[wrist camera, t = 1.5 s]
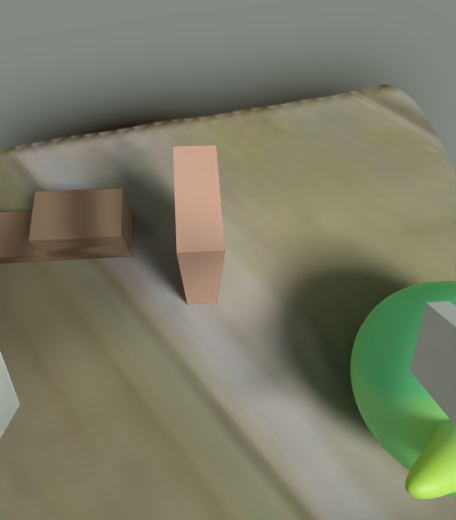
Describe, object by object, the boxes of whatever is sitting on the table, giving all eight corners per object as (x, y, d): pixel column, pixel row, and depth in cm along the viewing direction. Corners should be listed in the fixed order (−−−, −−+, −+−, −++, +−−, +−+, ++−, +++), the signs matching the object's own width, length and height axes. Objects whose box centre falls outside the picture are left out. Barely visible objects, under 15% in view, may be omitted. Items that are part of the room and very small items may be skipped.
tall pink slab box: (187, 304, 34) (176, 252, 21) (184, 231, 37) (173, 146, 24) (217, 302, 34) (225, 250, 21) (212, 230, 37) (215, 145, 24)
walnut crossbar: (-96, 268, 34) (-145, 249, 29) (-84, 222, 35) (-128, 197, 31) (132, 256, 36) (121, 236, 31) (132, 213, 37) (122, 188, 33)
